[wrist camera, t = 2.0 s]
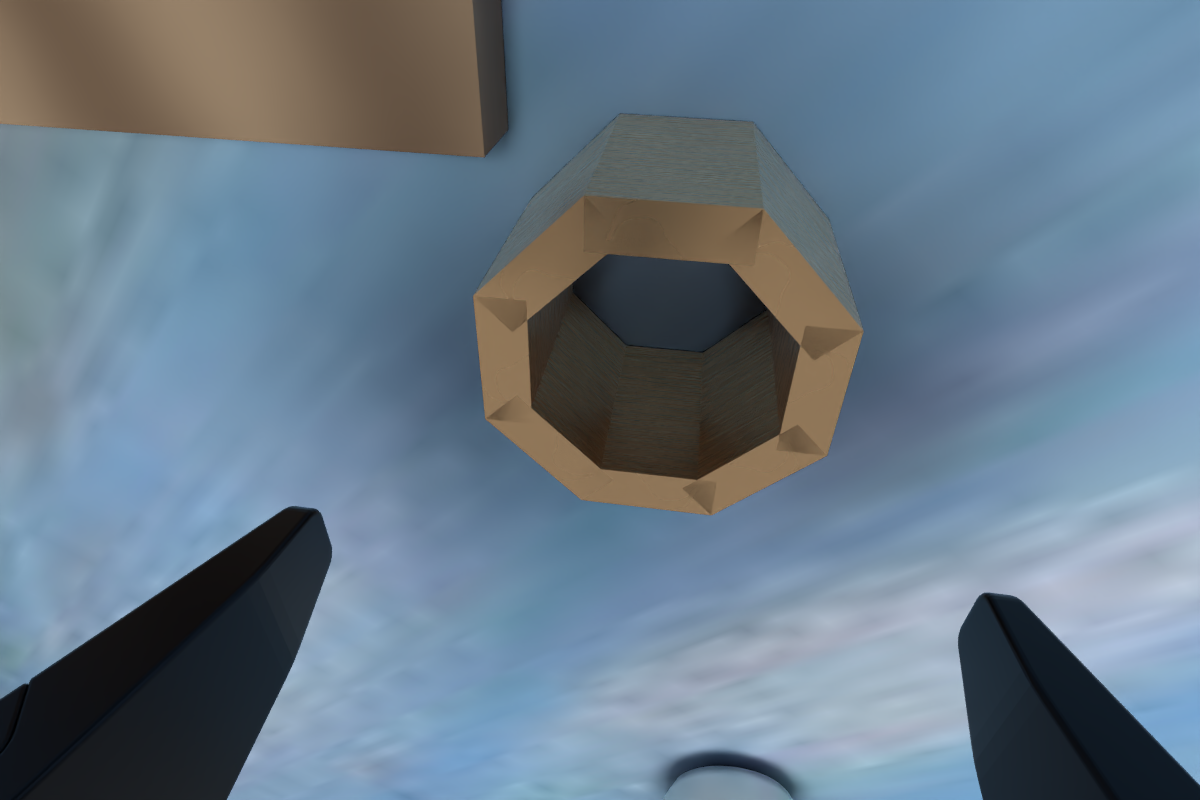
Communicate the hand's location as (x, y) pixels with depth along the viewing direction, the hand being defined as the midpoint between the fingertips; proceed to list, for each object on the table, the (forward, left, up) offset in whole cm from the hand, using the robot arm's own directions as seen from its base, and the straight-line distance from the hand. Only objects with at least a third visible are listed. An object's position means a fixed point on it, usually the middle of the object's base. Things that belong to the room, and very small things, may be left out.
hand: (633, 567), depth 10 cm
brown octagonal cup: (0, 0, -10) cm, 10 cm away
